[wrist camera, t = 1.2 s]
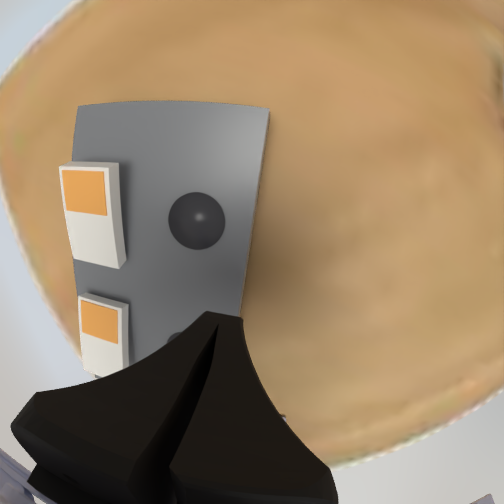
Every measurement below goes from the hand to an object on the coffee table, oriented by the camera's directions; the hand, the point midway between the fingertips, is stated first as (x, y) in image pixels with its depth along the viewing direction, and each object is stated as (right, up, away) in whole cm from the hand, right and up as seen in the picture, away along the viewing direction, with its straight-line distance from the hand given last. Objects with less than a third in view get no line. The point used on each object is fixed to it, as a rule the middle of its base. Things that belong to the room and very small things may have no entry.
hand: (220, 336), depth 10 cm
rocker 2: (-9, -3, +8) cm, 12 cm away
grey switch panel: (-5, +2, +10) cm, 11 cm away
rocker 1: (-8, +5, +5) cm, 11 cm away
